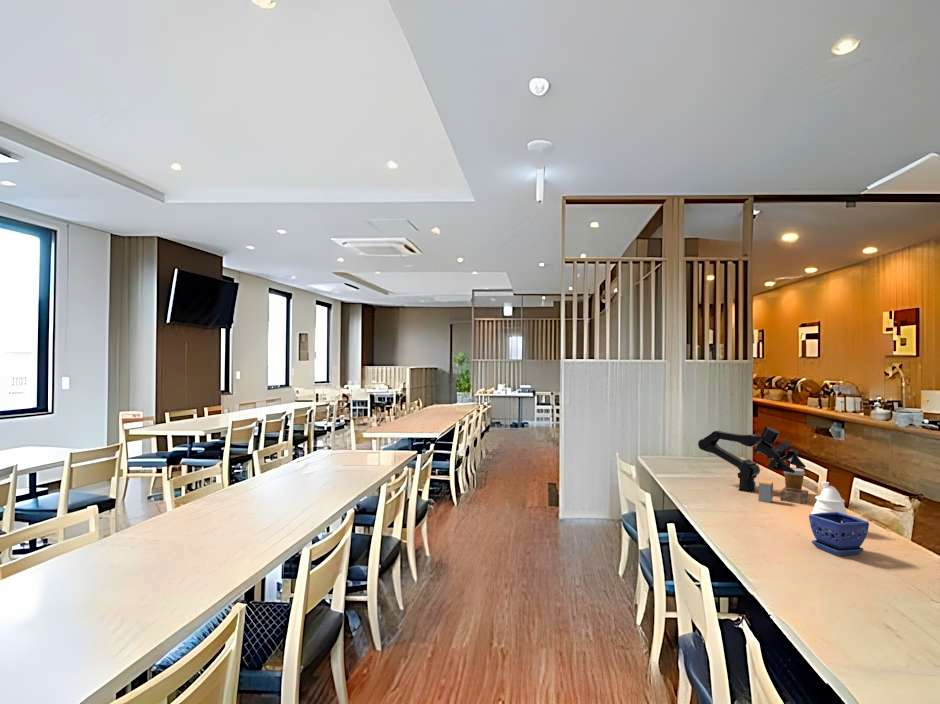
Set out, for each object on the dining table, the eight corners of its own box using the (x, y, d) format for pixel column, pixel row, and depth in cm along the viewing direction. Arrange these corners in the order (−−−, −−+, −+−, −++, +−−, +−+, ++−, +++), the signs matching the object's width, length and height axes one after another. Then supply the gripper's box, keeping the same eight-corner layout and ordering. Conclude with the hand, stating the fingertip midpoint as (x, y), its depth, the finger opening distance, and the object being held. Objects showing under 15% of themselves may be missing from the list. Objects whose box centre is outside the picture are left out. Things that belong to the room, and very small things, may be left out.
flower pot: (838, 559, 200) (839, 523, 200) (806, 546, 213) (807, 512, 213) (869, 556, 204) (870, 521, 204) (836, 543, 217) (837, 511, 217)
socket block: (780, 500, 280) (780, 490, 280) (784, 496, 288) (784, 487, 288) (804, 504, 274) (804, 494, 274) (808, 500, 282) (808, 490, 282)
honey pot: (811, 529, 234) (812, 483, 234) (810, 521, 245) (811, 477, 245) (850, 535, 228) (851, 488, 228) (846, 526, 239) (848, 481, 239)
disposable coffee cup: (804, 493, 297) (805, 468, 297) (803, 496, 289) (804, 472, 289) (783, 490, 302) (784, 466, 302) (781, 493, 294) (782, 469, 294)
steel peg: (758, 501, 277) (759, 481, 277) (760, 499, 281) (761, 480, 281) (770, 503, 274) (770, 483, 274) (772, 501, 278) (773, 481, 278)
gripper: (764, 441, 281) (795, 460, 270) (786, 433, 291) (816, 450, 280) (756, 461, 286) (786, 480, 275) (778, 451, 296) (808, 469, 285)
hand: (799, 469), depth 278 cm, fingers open, 9 cm apart
